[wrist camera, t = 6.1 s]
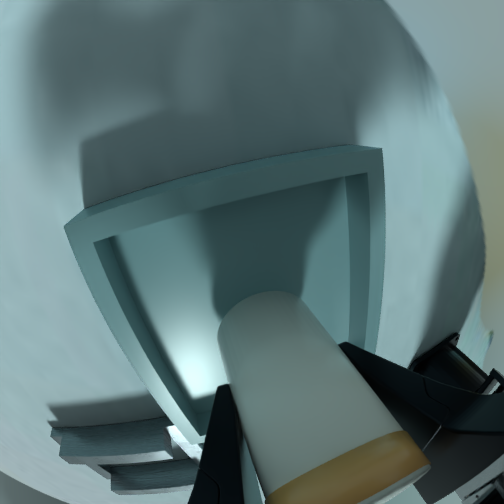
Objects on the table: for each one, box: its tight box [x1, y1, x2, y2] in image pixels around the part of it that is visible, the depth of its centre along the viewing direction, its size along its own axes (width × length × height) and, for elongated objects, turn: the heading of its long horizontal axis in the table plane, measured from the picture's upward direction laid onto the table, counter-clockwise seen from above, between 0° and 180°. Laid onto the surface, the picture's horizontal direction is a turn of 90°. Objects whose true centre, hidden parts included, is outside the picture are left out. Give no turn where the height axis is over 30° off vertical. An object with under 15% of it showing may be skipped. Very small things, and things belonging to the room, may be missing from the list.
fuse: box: [217, 291, 431, 504], centre depth 7 cm, size 4×4×8 cm
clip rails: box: [50, 416, 203, 495], centre depth 14 cm, size 10×8×2 cm
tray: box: [64, 145, 385, 445], centre depth 12 cm, size 11×13×2 cm
